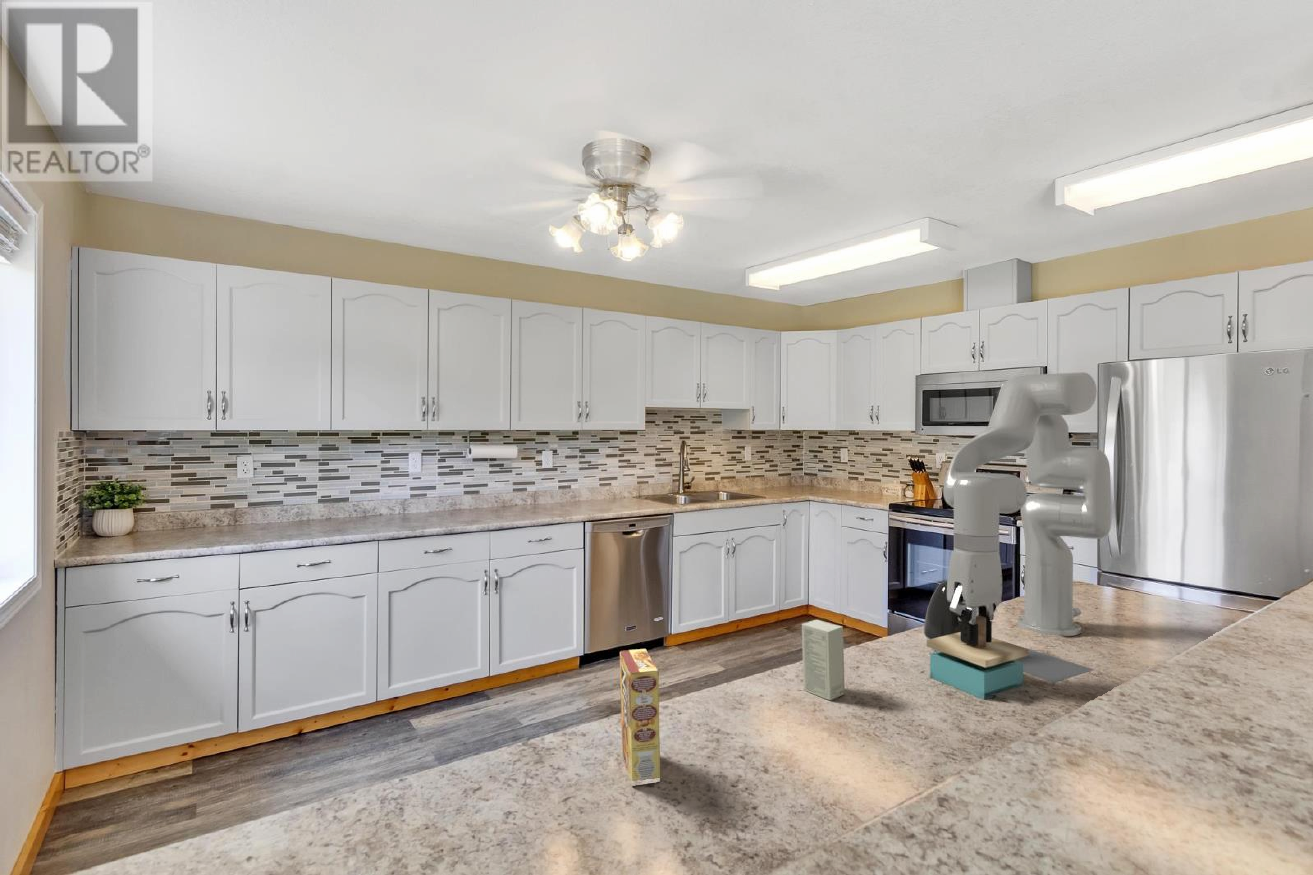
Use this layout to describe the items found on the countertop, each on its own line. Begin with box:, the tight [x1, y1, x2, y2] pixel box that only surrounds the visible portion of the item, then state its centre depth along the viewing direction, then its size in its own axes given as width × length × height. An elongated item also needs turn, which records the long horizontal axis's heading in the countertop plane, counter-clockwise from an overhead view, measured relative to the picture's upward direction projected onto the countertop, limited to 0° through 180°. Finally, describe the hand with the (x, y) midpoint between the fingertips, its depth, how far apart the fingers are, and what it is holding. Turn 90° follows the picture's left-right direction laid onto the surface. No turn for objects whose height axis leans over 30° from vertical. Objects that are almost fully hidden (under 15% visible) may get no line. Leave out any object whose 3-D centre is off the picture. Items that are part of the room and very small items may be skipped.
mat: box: [1014, 648, 1094, 683], centre depth 124 cm, size 13×13×1 cm
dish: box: [929, 651, 1024, 700], centre depth 116 cm, size 11×11×4 cm
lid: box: [926, 615, 1029, 668], centre depth 116 cm, size 12×12×6 cm
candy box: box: [619, 648, 661, 781], centre depth 87 cm, size 9×4×15 cm, turn 13°
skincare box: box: [801, 619, 846, 701], centre depth 112 cm, size 6×4×12 cm
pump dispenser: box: [923, 580, 970, 653], centre depth 131 cm, size 10×10×15 cm
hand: (976, 641), depth 116 cm, fingers closed on lid, 3 cm apart
